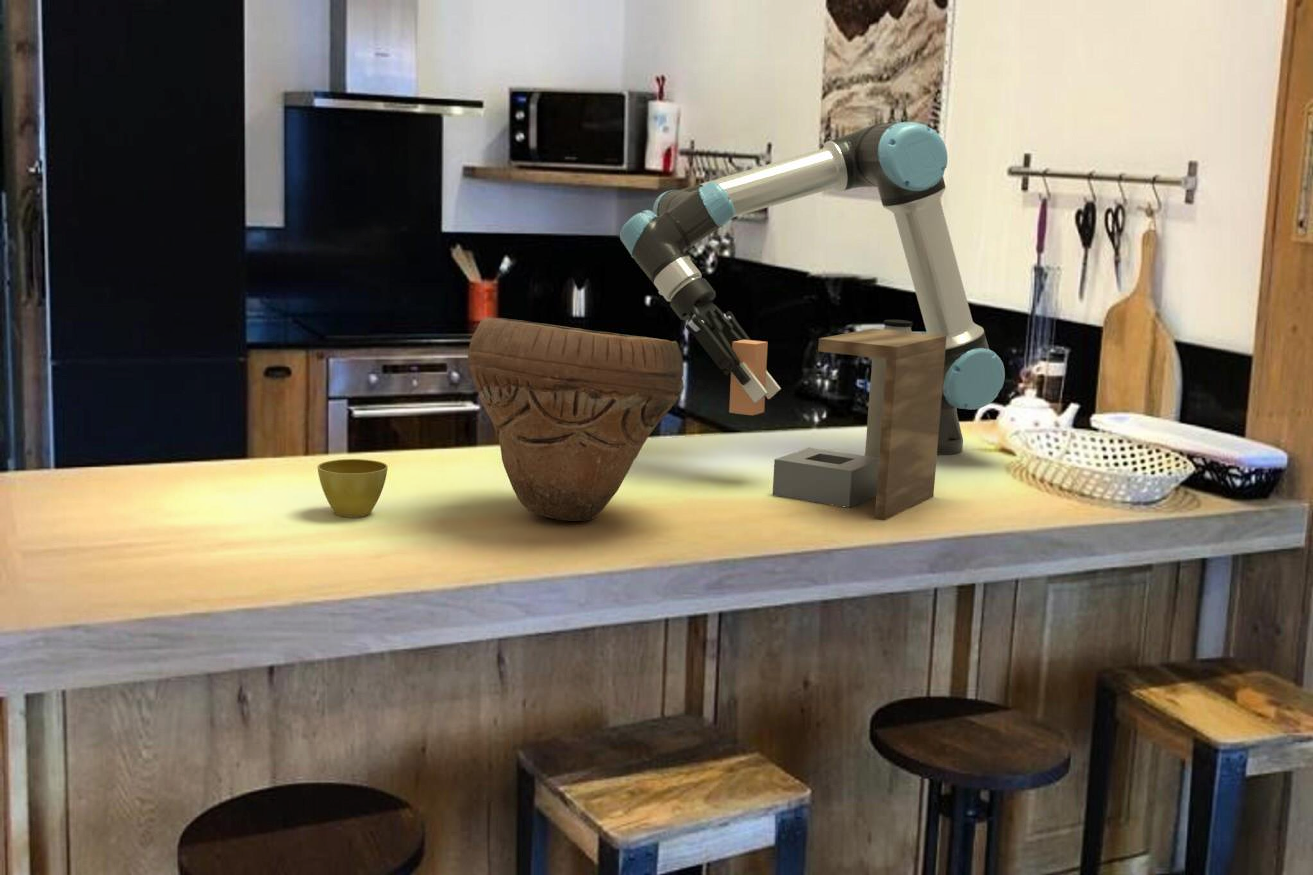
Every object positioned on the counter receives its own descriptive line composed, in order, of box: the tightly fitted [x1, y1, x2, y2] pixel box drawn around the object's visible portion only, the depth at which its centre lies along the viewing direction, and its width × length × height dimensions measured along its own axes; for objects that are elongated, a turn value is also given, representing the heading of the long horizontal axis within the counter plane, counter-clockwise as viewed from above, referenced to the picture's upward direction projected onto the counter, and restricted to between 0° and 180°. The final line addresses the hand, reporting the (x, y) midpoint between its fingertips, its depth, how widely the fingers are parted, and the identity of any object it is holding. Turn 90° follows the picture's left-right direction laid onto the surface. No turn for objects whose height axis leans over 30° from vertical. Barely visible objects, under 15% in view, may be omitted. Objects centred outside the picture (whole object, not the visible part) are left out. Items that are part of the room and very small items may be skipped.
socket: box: [771, 447, 879, 508], centre depth 245 cm, size 14×14×6 cm
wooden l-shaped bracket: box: [817, 328, 947, 521], centre depth 239 cm, size 13×22×27 cm, turn 150°
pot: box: [467, 316, 685, 522], centre depth 220 cm, size 32×32×30 cm
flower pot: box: [317, 458, 389, 518], centre depth 217 cm, size 10×10×7 cm
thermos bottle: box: [864, 319, 914, 458], centre depth 258 cm, size 8×8×28 cm
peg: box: [728, 339, 769, 416], centre depth 250 cm, size 4×4×12 cm
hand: (767, 395), depth 248 cm, fingers closed on peg, 4 cm apart
